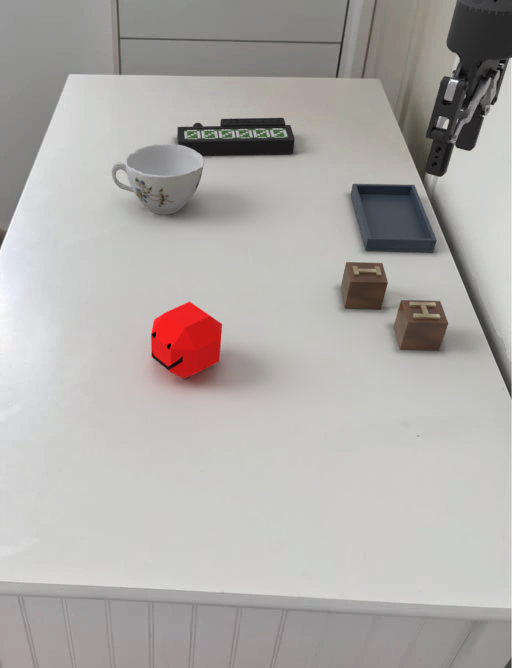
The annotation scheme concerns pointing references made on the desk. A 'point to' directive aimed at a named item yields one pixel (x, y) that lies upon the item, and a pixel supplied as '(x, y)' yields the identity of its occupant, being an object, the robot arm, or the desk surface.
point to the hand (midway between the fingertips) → (449, 160)
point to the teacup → (162, 176)
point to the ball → (186, 340)
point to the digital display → (239, 137)
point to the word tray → (392, 218)
